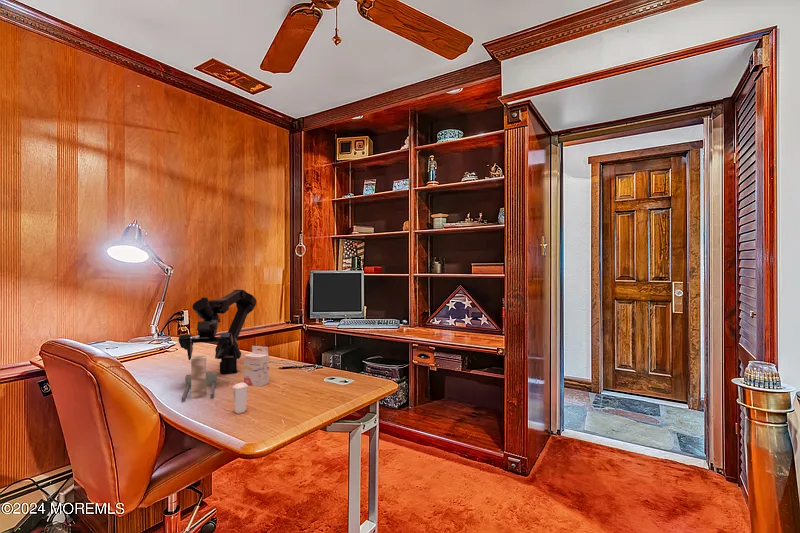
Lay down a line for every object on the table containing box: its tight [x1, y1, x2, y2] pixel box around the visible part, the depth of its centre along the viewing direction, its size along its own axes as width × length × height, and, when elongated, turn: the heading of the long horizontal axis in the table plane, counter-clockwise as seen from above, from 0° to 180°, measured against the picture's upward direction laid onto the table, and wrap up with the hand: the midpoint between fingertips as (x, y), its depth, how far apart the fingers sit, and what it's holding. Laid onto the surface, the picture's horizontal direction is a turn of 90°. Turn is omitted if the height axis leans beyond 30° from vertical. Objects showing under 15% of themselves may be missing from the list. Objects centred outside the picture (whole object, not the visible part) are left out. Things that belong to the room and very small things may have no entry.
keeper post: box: [190, 355, 207, 400], centre depth 142 cm, size 4×4×14 cm
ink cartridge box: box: [243, 345, 270, 387], centre depth 156 cm, size 9×5×15 cm, turn 71°
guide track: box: [181, 371, 218, 403], centre depth 147 cm, size 11×22×4 cm, turn 24°
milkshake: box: [230, 380, 249, 415], centre depth 126 cm, size 4×5×10 cm
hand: (202, 358), depth 148 cm, fingers open, 9 cm apart
